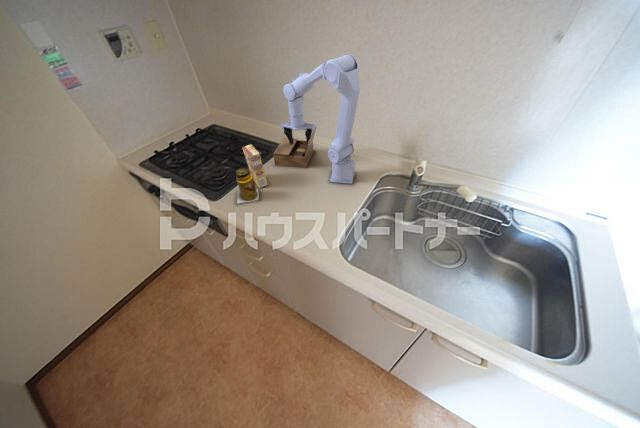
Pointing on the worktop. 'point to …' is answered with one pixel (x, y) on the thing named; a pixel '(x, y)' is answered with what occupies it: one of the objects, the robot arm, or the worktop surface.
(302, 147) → the chocolate bar
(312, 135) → the bin flap
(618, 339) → the worktop surface
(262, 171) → the candy box
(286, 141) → the brown wooden square box
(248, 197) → the condiment
